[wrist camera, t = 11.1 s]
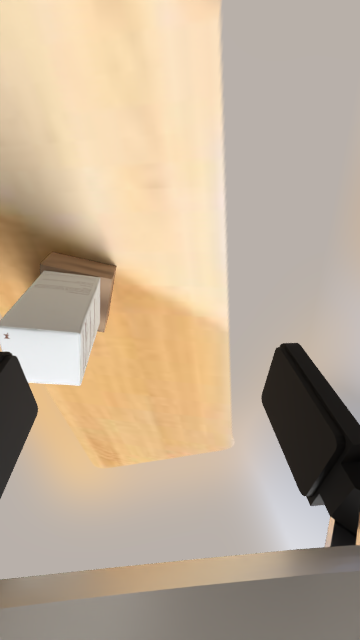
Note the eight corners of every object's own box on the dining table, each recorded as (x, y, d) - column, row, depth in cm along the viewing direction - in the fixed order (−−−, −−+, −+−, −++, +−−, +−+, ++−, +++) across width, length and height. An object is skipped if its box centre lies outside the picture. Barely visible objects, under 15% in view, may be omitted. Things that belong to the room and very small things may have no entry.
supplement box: (48, 316, 37) (6, 383, 27) (43, 268, 33) (-9, 324, 23) (101, 322, 38) (81, 388, 28) (102, 276, 34) (79, 333, 24)
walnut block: (52, 251, 37) (40, 264, 33) (116, 265, 39) (112, 279, 35) (51, 304, 42) (40, 321, 38) (108, 314, 44) (104, 332, 39)
